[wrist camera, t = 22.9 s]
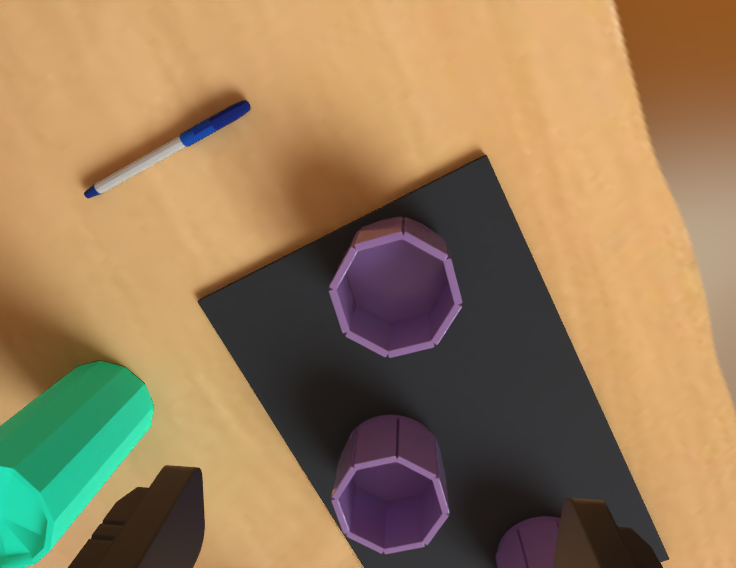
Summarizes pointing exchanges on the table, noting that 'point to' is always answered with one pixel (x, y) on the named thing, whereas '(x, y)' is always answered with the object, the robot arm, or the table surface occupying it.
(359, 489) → the purple octagonal cup
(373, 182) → the table surface
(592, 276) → the table surface
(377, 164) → the table surface
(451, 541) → the mat
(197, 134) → the ballpoint pen
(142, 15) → the table surface
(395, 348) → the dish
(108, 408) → the candle
